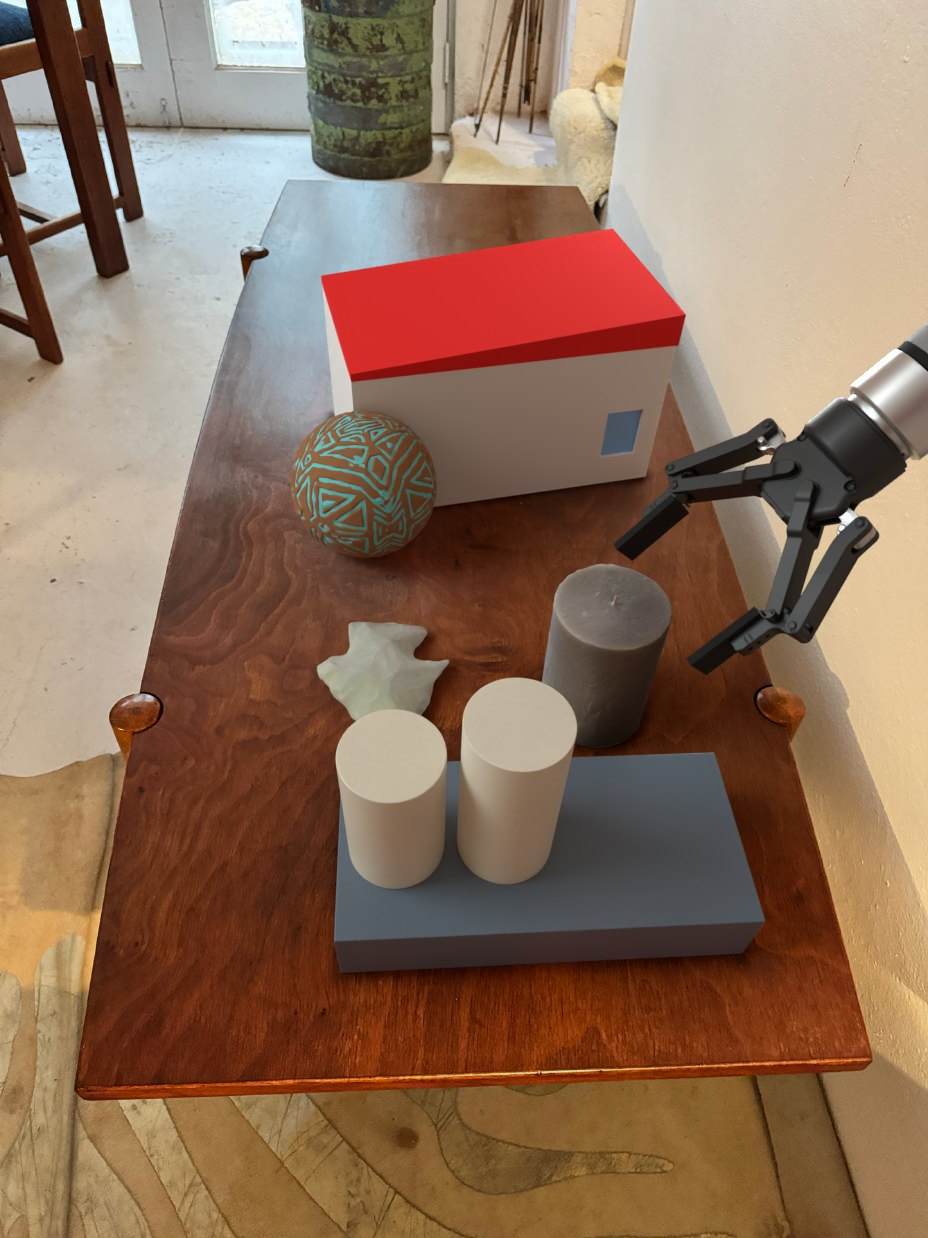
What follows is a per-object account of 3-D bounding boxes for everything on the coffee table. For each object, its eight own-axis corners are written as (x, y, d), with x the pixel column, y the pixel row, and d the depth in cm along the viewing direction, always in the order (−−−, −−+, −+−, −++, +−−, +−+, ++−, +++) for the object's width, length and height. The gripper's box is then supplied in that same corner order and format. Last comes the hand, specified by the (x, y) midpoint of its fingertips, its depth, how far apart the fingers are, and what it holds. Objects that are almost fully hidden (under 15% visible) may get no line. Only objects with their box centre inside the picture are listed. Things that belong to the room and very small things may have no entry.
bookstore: (648, 476, 102) (688, 314, 86) (361, 517, 95) (348, 349, 80) (589, 382, 115) (614, 228, 100) (334, 413, 109) (318, 252, 93)
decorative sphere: (325, 604, 86) (310, 488, 75) (281, 515, 95) (262, 400, 84) (458, 563, 91) (462, 449, 79) (404, 482, 100) (401, 369, 88)
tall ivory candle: (570, 842, 63) (601, 725, 51) (504, 904, 59) (521, 793, 48) (503, 781, 66) (518, 659, 55) (437, 837, 62) (438, 719, 51)
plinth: (697, 790, 73) (714, 752, 68) (742, 954, 63) (766, 921, 59) (347, 803, 71) (341, 764, 66) (340, 973, 62) (333, 941, 57)
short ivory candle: (464, 846, 62) (470, 757, 53) (391, 909, 59) (384, 824, 50) (402, 785, 65) (397, 691, 56) (329, 841, 62) (312, 750, 53)
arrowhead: (318, 625, 83) (312, 758, 73) (319, 602, 80) (314, 736, 70) (443, 632, 85) (454, 761, 75) (448, 609, 82) (460, 740, 73)
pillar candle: (656, 740, 76) (695, 631, 65) (552, 756, 75) (573, 646, 64) (623, 658, 82) (653, 545, 71) (526, 671, 81) (541, 558, 70)
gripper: (1006, 558, 58) (753, 735, 66) (802, 367, 74) (617, 528, 81) (981, 514, 53) (710, 711, 60) (768, 318, 68) (574, 495, 76)
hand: (656, 606), depth 71 cm, fingers open, 13 cm apart
